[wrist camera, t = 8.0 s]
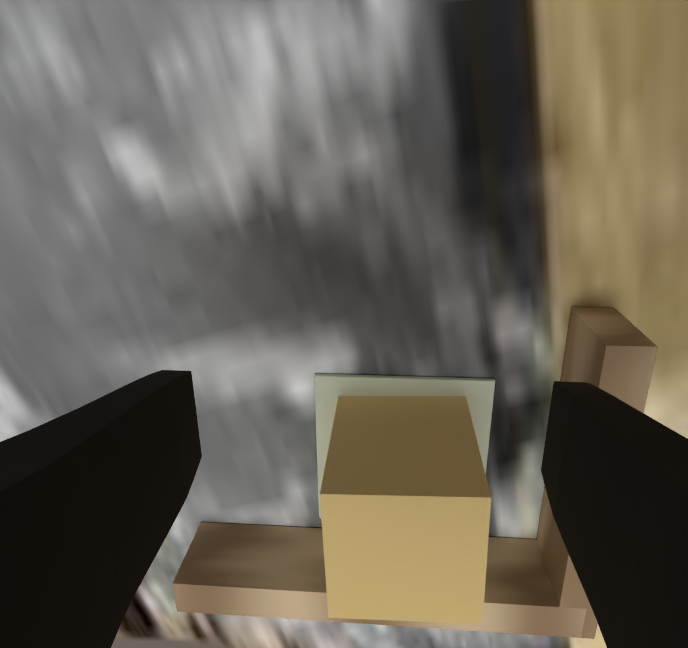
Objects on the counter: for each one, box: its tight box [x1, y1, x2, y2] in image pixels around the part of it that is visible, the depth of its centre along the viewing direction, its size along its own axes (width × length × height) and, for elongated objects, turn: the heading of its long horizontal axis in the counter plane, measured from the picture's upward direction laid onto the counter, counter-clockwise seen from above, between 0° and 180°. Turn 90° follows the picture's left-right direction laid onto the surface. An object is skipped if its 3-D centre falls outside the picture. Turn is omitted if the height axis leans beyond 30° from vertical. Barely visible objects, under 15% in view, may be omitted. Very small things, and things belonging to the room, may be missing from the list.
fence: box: [173, 307, 657, 639], centre depth 21 cm, size 16×12×4 cm
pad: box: [314, 374, 495, 518], centre depth 23 cm, size 7×7×1 cm
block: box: [320, 396, 491, 624], centre depth 20 cm, size 5×5×6 cm
